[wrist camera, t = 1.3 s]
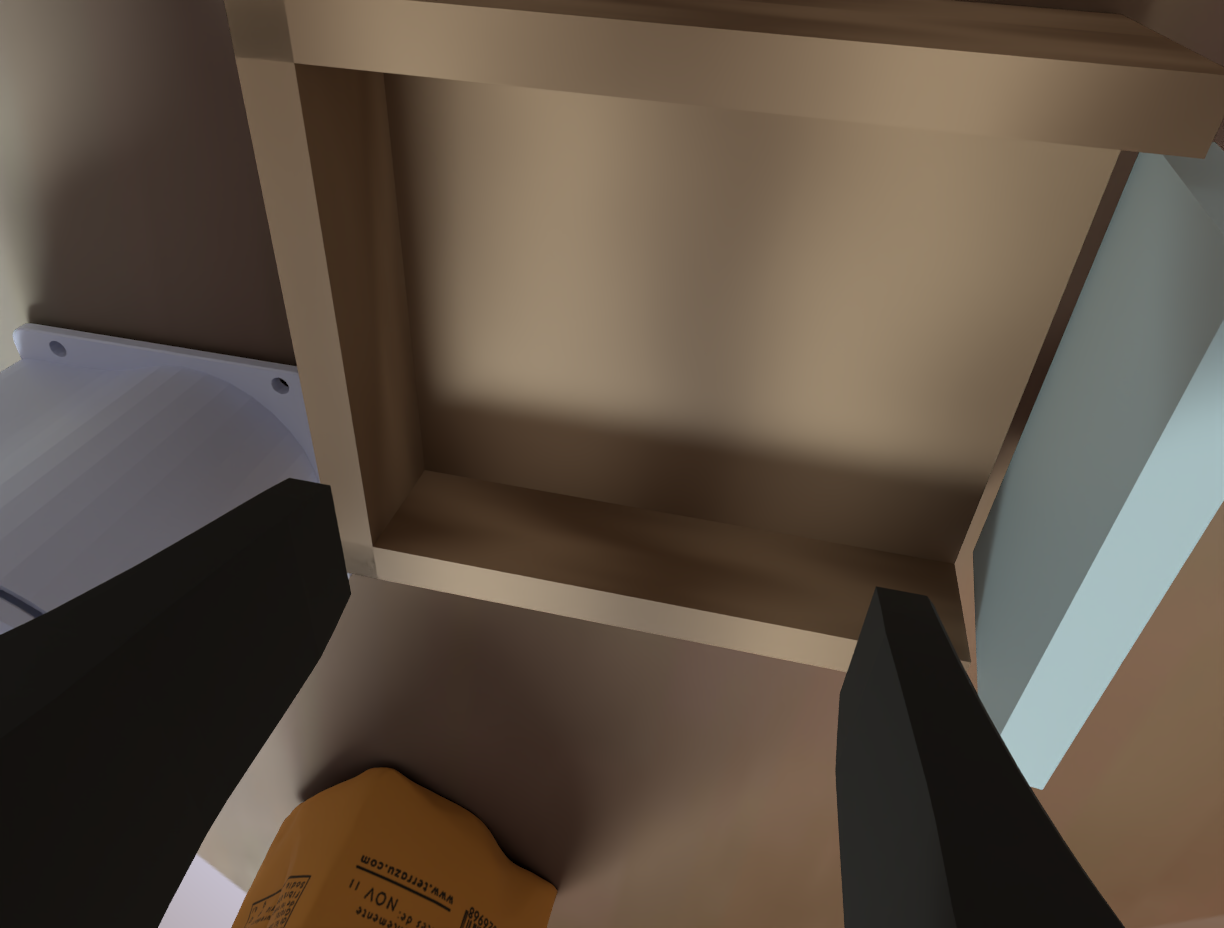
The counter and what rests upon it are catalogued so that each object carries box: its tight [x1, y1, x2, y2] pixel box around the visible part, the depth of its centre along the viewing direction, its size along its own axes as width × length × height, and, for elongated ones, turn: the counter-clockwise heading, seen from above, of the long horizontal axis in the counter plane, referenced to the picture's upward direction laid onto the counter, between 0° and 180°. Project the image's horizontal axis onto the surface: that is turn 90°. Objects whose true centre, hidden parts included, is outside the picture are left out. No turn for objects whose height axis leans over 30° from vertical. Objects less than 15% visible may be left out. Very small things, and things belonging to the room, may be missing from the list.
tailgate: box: [973, 142, 1224, 790], centre depth 14 cm, size 1×9×6 cm, turn 177°
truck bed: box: [224, 0, 1224, 673], centre depth 17 cm, size 14×12×6 cm
